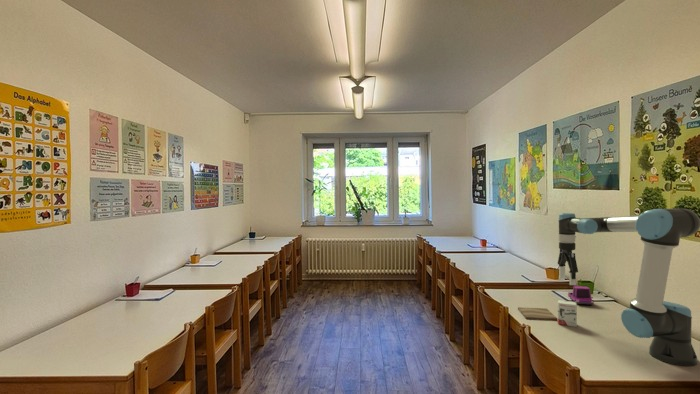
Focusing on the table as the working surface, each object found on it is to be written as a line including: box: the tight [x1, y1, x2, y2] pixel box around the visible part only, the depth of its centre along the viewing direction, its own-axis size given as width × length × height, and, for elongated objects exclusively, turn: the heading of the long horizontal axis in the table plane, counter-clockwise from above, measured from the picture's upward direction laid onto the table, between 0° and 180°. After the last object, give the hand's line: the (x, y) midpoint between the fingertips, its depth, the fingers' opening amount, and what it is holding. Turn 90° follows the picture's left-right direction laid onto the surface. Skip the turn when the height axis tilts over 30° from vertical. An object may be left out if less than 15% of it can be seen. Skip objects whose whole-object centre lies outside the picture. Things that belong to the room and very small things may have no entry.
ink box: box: [557, 299, 578, 328], centre depth 189 cm, size 9×5×12 cm, turn 62°
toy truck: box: [567, 285, 595, 306], centre depth 224 cm, size 11×16×10 cm
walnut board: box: [517, 306, 558, 321], centre depth 204 cm, size 16×16×1 cm
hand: (567, 281), depth 189 cm, fingers open, 13 cm apart
